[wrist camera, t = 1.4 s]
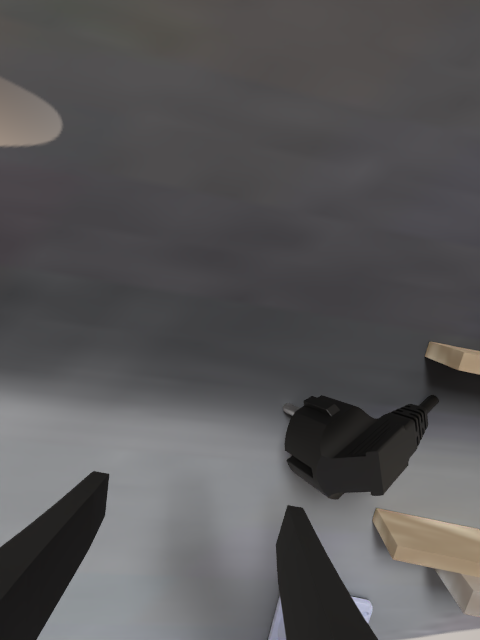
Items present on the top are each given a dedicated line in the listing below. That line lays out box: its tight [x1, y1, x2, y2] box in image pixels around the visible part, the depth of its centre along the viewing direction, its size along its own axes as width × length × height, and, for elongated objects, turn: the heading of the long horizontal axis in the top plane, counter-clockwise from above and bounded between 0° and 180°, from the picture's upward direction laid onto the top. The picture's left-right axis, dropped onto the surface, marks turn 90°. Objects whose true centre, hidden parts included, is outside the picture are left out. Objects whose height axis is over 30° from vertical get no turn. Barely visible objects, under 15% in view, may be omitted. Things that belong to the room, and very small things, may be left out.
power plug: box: [283, 395, 439, 499], centre depth 18 cm, size 6×8×12 cm
